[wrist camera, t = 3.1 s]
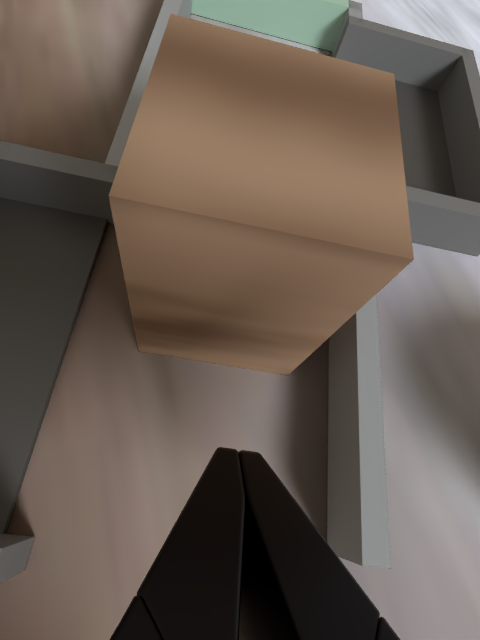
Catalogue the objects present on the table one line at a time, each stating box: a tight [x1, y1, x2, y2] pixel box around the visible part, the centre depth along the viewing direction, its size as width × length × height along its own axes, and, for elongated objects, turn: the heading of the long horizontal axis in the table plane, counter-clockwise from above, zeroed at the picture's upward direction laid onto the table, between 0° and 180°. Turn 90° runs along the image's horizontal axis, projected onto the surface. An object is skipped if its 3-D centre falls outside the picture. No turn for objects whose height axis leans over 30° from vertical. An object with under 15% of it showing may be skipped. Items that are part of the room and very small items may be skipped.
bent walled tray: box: [0, 0, 480, 584], centre depth 20 cm, size 36×30×3 cm
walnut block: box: [109, 14, 414, 375], centre depth 16 cm, size 14×7×10 cm, turn 173°
